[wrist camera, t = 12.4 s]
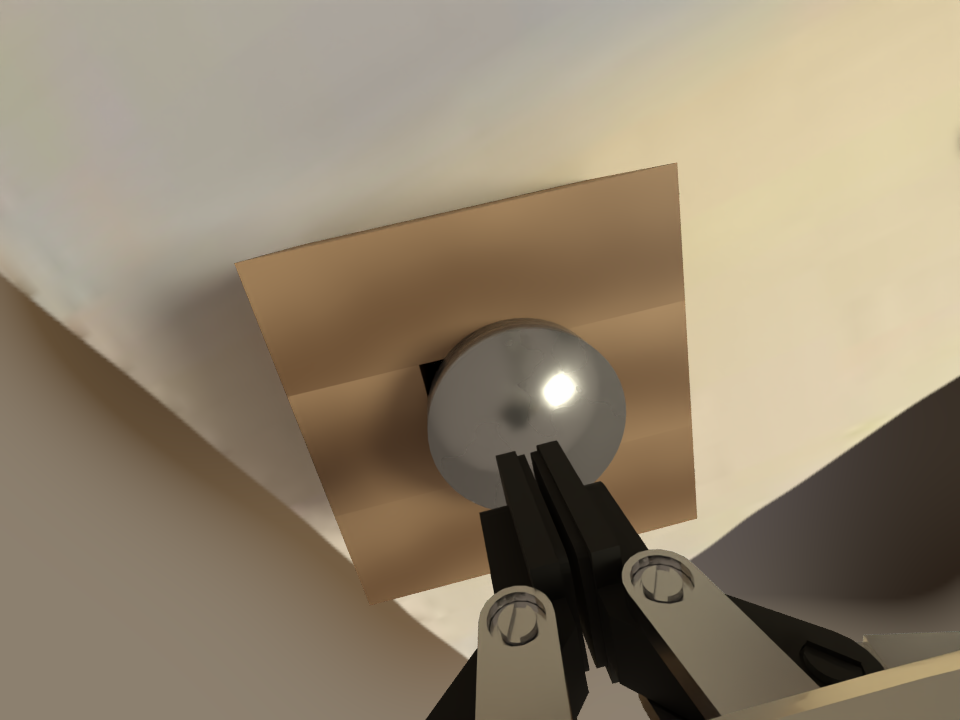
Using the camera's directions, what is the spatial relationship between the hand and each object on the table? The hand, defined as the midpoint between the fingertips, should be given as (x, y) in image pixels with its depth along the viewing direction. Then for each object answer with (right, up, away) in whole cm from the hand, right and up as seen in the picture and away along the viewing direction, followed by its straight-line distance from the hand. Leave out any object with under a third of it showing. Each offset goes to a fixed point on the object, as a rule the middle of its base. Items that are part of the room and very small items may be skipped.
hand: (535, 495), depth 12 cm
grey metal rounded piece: (-1, +4, +11) cm, 12 cm away
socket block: (-2, +4, +12) cm, 13 cm away
